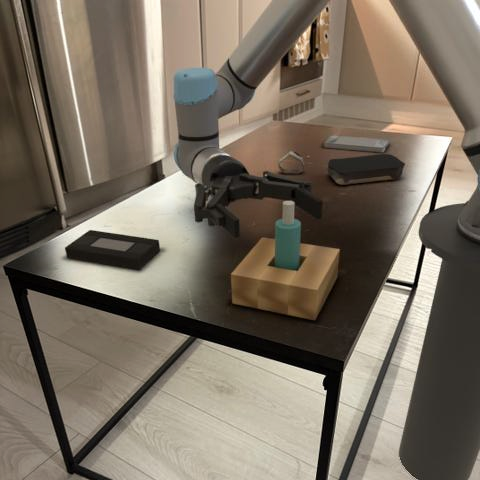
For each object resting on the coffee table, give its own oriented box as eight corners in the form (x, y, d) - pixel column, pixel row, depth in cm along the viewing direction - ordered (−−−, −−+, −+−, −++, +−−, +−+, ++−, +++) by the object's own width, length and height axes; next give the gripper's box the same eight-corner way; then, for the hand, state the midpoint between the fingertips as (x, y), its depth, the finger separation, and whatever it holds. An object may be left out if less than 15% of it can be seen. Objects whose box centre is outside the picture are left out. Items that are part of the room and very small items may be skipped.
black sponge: (388, 168, 121) (390, 152, 118) (404, 180, 114) (407, 163, 112) (323, 175, 118) (324, 159, 116) (336, 187, 111) (337, 171, 109)
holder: (337, 277, 79) (339, 249, 76) (315, 320, 70) (317, 289, 67) (262, 264, 83) (262, 237, 81) (232, 303, 74) (230, 273, 71)
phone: (383, 153, 131) (384, 148, 130) (323, 147, 136) (323, 142, 135) (388, 144, 137) (389, 139, 136) (330, 139, 142) (331, 134, 141)
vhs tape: (92, 239, 93) (89, 229, 92) (160, 250, 89) (159, 240, 88) (67, 258, 87) (64, 247, 86) (139, 270, 83) (137, 259, 82)
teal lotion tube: (292, 282, 78) (295, 196, 70) (301, 293, 76) (306, 205, 68) (271, 286, 78) (271, 199, 70) (279, 298, 75) (281, 209, 67)
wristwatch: (304, 174, 119) (305, 153, 116) (278, 175, 119) (279, 154, 116) (302, 169, 122) (303, 148, 119) (277, 170, 122) (277, 150, 119)
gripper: (282, 184, 95) (349, 225, 79) (155, 209, 86) (201, 262, 70) (283, 143, 90) (353, 178, 75) (149, 166, 82) (197, 211, 66)
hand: (279, 219), depth 72 cm, fingers open, 13 cm apart
